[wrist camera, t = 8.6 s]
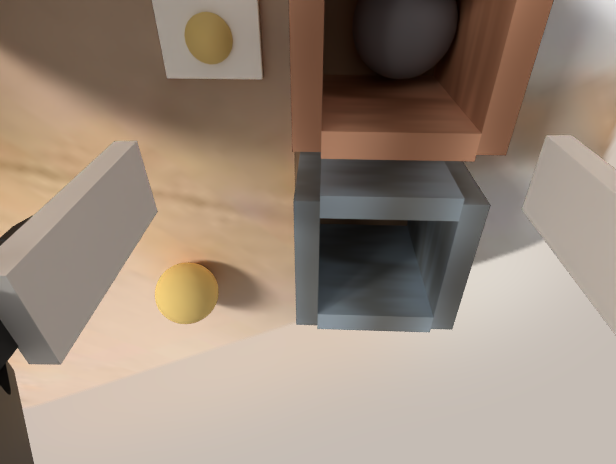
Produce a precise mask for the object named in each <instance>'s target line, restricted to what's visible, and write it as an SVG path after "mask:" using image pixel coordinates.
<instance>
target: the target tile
mask: <svg viewBox="0 0 616 464" xmlns="http://www.w3.org/2000/svg"><path fill="white" fill-rule="evenodd" d="M152 4H153V9H154V14H155V19H156V25H157V30H158V35H159V40H160V45H161V50H162V55H163V60H164V65H165V71H166V76H167V78H177V79H263V68H262V52H261V36H260V20H259V4H258V0H152Z"/></svg>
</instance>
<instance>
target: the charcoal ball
mask: <svg viewBox="0 0 616 464" xmlns="http://www.w3.org/2000/svg"><path fill="white" fill-rule="evenodd" d="M457 21H458V9H457V3H456V0H358V3H357V5H356V8H355V11H354V16H353V24H352V32H353V39H354V44H355V47H356V50H357V52H358V54H359V56H360V57H361V59H362V60H363V62H364V63H365V64H366V65H367V66H368V67H369V68H370V69H371V70H372V71H374V72H375V73H377V74H379V75H381V76H383V77H386V78H390V79H409V78H413V77H416V76H419V75H421V74H423V73H425V72H426V71H428V70H430V69H431V68H432V67H434V66H435V65H436V64H437V63H438V62H439V61H440V60H441V59H442V58H443V56H444V55H445V54H446V52H447V51H448V49H449V47H450V45H451V43H452V41H453V39H454V36H455V32H456V28H457Z"/></svg>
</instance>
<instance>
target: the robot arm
mask: <svg viewBox="0 0 616 464" xmlns="http://www.w3.org/2000/svg"><path fill="white" fill-rule="evenodd" d="M522 211H523V212H524V214H525V215H526V216H527V218H528V219H529V220H530V222H531V223H532V224H533V226H534V227H535V228H536V230H537V231H538V232H539V234H540V235H541V236H542V238H543V239H544V240H545V242H546V243H547V244H548V245H549V247H550V248H551V250H552V251H553V252H554V254H555V255H556V256H557V258H558V259H559V260H560V262H561V263H562V264H563V266H564V267H565V268H566V270H567V271H568V272H569V274H570V275H571V276H572V278H573V279H574V280H575V282H576V283H577V284H578V285H579V287H580V288H581V290H582V291H583V292H584V294H585V295H586V296H587V298H588V299H589V300H590V302H591V303H592V304H593V306H594V307H595V308H596V310H597V311H598V312H599V314H600V315H601V316H602V318H603V319H604V320H605V322H606V323H607V324H608V326H609V327H610V328H611V330H612V331H613V332H614V334H615V335H616V169H615V168H614V167H613V166H611V165H610V164H609V163H607V162H606V161H605V160H603V159H602V158H601V157H599V156H598V155H597V154H595V153H594V152H593V151H592V150H590V149H589V148H588V147H586V146H585V145H584V144H582V143H581V142H580V141H578V140H577V139H576V138H575V137H573V136H572V135H546V137H545V140H544V143H543V147H542V150H541V153H540V156H539V159H538V162H537V165H536V168H535V171H534V174H533V177H532V180H531V183H530V186H529V189H528V192H527V195H526V198H525V201H524V204H523V207H522ZM157 212H158V211H157V208H156V205H155V201H154V198H153V194H152V191H151V187H150V184H149V180H148V177H147V174H146V170H145V167H144V163H143V160H142V156H141V153H140V150H139V146H138V143H137V141H114V142H113V143H112V144H111V145H109V146H108V147H107V148H106V149H105V150H104V151H103V152H102V153H101V154H100V155H99V156H97V157H96V158H95V159H94V160H93V161H92V162H91V163H90V164H89V165H88V166H87V167H86V168H84V169H83V170H82V171H81V172H80V173H79V174H78V175H77V176H76V177H75V178H74V179H72V180H71V181H70V182H69V183H68V184H67V185H66V186H65V187H64V188H63V189H62V190H61V191H59V192H58V193H57V194H56V195H55V196H54V197H53V198H52V199H51V200H50V201H49V202H47V203H46V204H45V205H44V206H43V207H42V208H41V209H40V210H39V211H38V212H37V213H36V214H34V215H33V216H31V217H29V218H27V219H25V220H24V221H22V222H20V223H18V224H16V225H15V226H13V227H12V228H11V229H9V230H8V231H7V232H6V233H5V234H4V235H3V236H2V237H1V238H0V464H34V462H33V457H32V452H31V448H30V443H29V439H28V434H27V429H26V424H25V420H24V415H23V410H22V405H21V401H20V396H19V391H18V387H17V382H16V377H15V373H14V370H13V368H12V367H11V365H10V364H9V363H8V359H9V358H10V357H11V356H12V354H13V353H14V352H15V350H16V349H17V348H18V349H19V350H20V352H21V353H22V355H23V356H24V358H25V359H26V360H27V362H28V363H29V364H61V363H62V362H63V360H64V359H65V357H66V355H67V354H68V352H69V351H70V349H71V348H72V346H73V344H74V343H75V341H76V340H77V338H78V337H79V335H80V333H81V332H82V330H83V329H84V327H85V325H86V324H87V322H88V321H89V319H90V318H91V316H92V314H93V313H94V311H95V310H96V308H97V307H98V305H99V303H100V302H101V300H102V299H103V297H104V295H105V294H106V292H107V291H108V289H109V288H110V286H111V284H112V283H113V281H114V280H115V278H116V276H117V275H118V273H119V272H120V270H121V269H122V267H123V265H124V264H125V262H126V261H127V259H128V258H129V256H130V254H131V253H132V251H133V250H134V248H135V246H136V245H137V243H138V242H139V240H140V239H141V237H142V235H143V234H144V232H145V231H146V229H147V228H148V226H149V224H150V223H151V221H152V220H153V218H154V216H155V215H156V213H157Z"/></svg>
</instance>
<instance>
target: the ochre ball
mask: <svg viewBox="0 0 616 464" xmlns="http://www.w3.org/2000/svg"><path fill="white" fill-rule="evenodd" d="M217 299H218V284H217V281H216V279H215V277H214V276H213V274H212V273H211V272H210V271H209V270H208V269H207V268H205V267H204V266H202V265H199V264H196V263H189V262H188V263H180V264H177V265H174V266H172V267H171V268H169V269H168V270H166V271H165V272H164V273H163V275H162V276H161V277H160V279H159V280H158V283H157V285H156V289H155V300H156V304H157V306H158V309H159V310H160V312H161V313H162V314H163V315H164V316H165V317H166V318H168V319H169V320H171V321H173V322H176V323H180V324H191V323H195V322H198V321H200V320H202V319H204V318H205V317H206V316H208V315H209V314H210V313H211V311H212V310H213V309H214V307H215V305H216V303H217Z"/></svg>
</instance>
